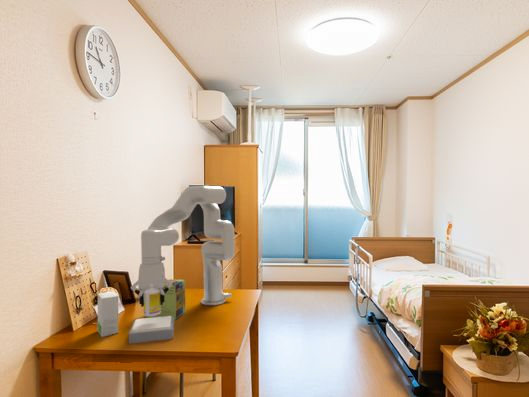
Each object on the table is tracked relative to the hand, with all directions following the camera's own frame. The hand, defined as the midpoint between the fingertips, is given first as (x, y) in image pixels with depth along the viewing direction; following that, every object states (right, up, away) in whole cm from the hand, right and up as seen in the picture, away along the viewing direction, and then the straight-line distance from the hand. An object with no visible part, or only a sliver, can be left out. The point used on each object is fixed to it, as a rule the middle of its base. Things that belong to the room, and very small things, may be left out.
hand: (152, 304), depth 133 cm
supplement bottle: (0, -4, 0) cm, 4 cm away
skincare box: (-19, -12, +3) cm, 23 cm away
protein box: (-1, -12, +21) cm, 25 cm away
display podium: (0, -12, 0) cm, 12 cm away
